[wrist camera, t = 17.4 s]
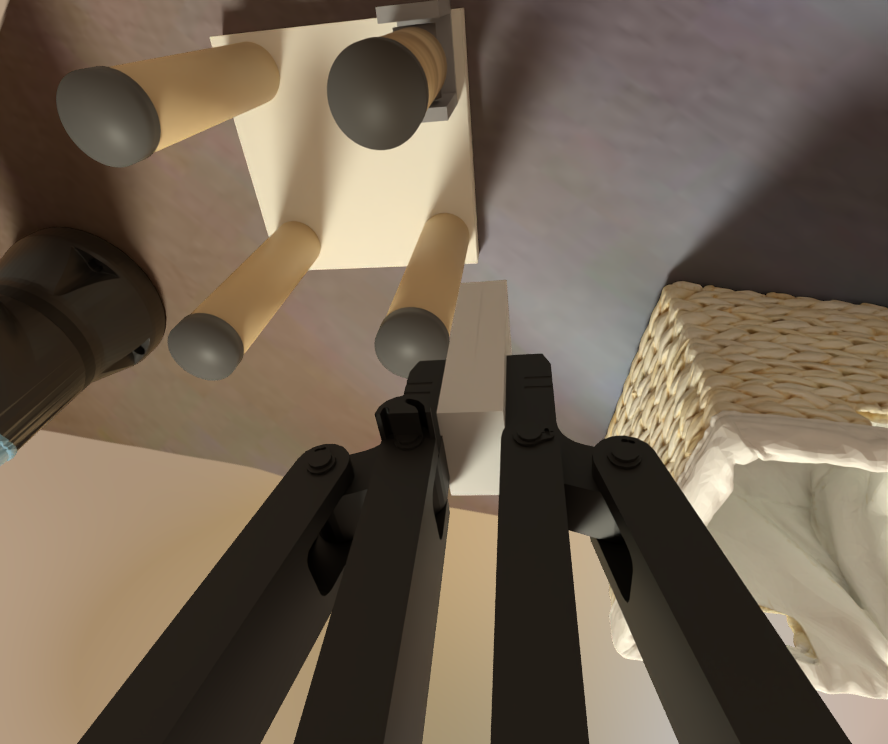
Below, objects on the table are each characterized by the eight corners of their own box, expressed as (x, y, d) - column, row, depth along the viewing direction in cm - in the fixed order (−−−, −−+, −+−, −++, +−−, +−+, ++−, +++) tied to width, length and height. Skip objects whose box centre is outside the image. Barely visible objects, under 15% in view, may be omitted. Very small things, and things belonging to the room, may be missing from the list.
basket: (817, 511, 60) (939, 725, 43) (580, 479, 62) (604, 673, 44) (975, 301, 44) (1274, 507, 27) (650, 265, 46) (730, 437, 28)
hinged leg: (455, 94, 35) (393, 100, 35) (450, 18, 32) (383, 25, 33) (430, 146, 23) (338, 154, 24) (418, 33, 21) (316, 44, 21)
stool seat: (287, 262, 49) (179, 385, 34) (219, 25, 39) (18, 48, 23) (478, 253, 47) (457, 384, 31) (463, -3, 36) (419, 2, 20)
